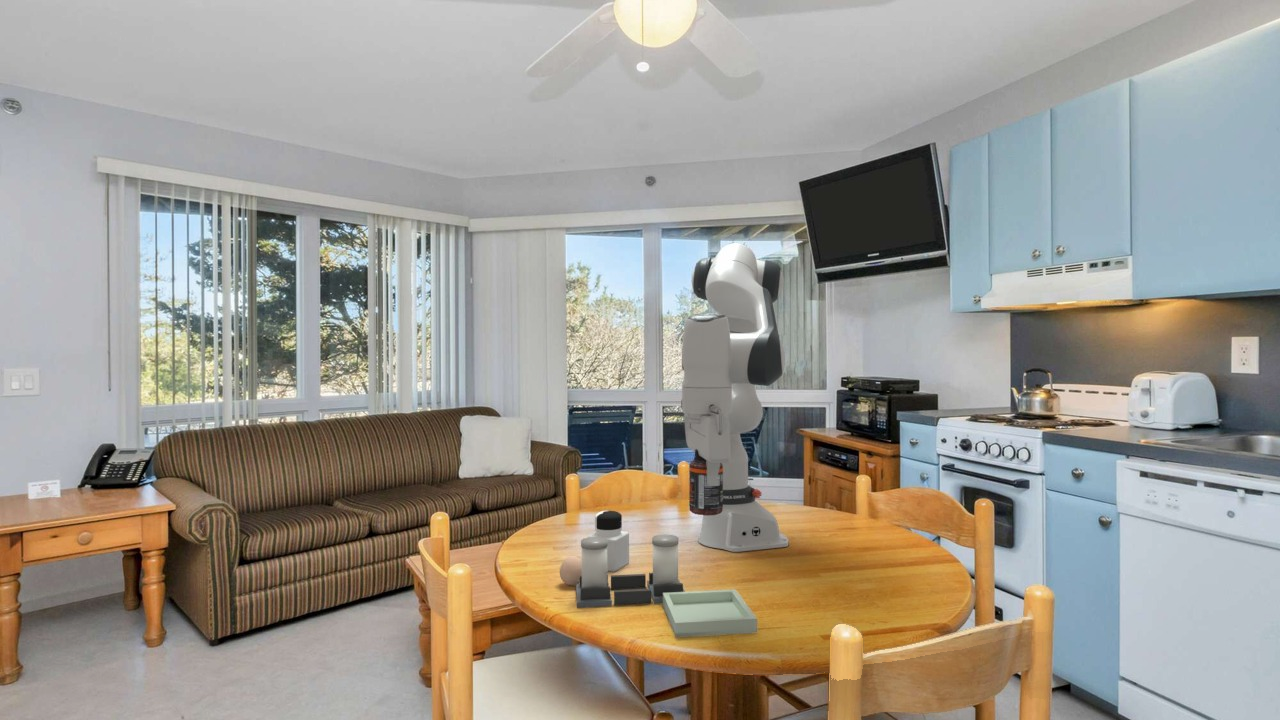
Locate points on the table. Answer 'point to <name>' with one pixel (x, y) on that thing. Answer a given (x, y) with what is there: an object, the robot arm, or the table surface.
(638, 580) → the fuse holder
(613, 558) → the medicine bottle
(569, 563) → the egg
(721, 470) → the supplement bottle
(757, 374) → the robot arm
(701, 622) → the tray
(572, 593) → the table surface
